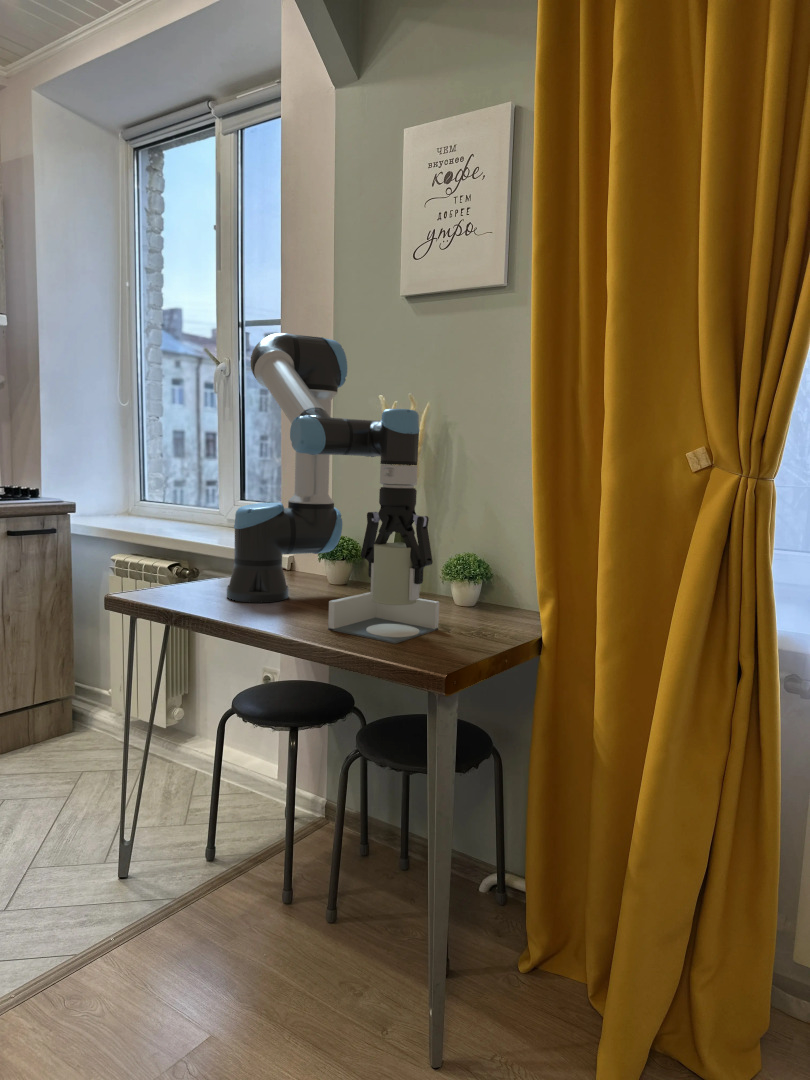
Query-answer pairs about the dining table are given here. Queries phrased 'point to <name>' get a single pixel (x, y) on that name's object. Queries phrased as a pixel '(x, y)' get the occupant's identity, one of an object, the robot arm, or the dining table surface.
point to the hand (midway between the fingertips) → (394, 596)
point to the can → (392, 574)
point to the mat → (384, 630)
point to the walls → (381, 611)
